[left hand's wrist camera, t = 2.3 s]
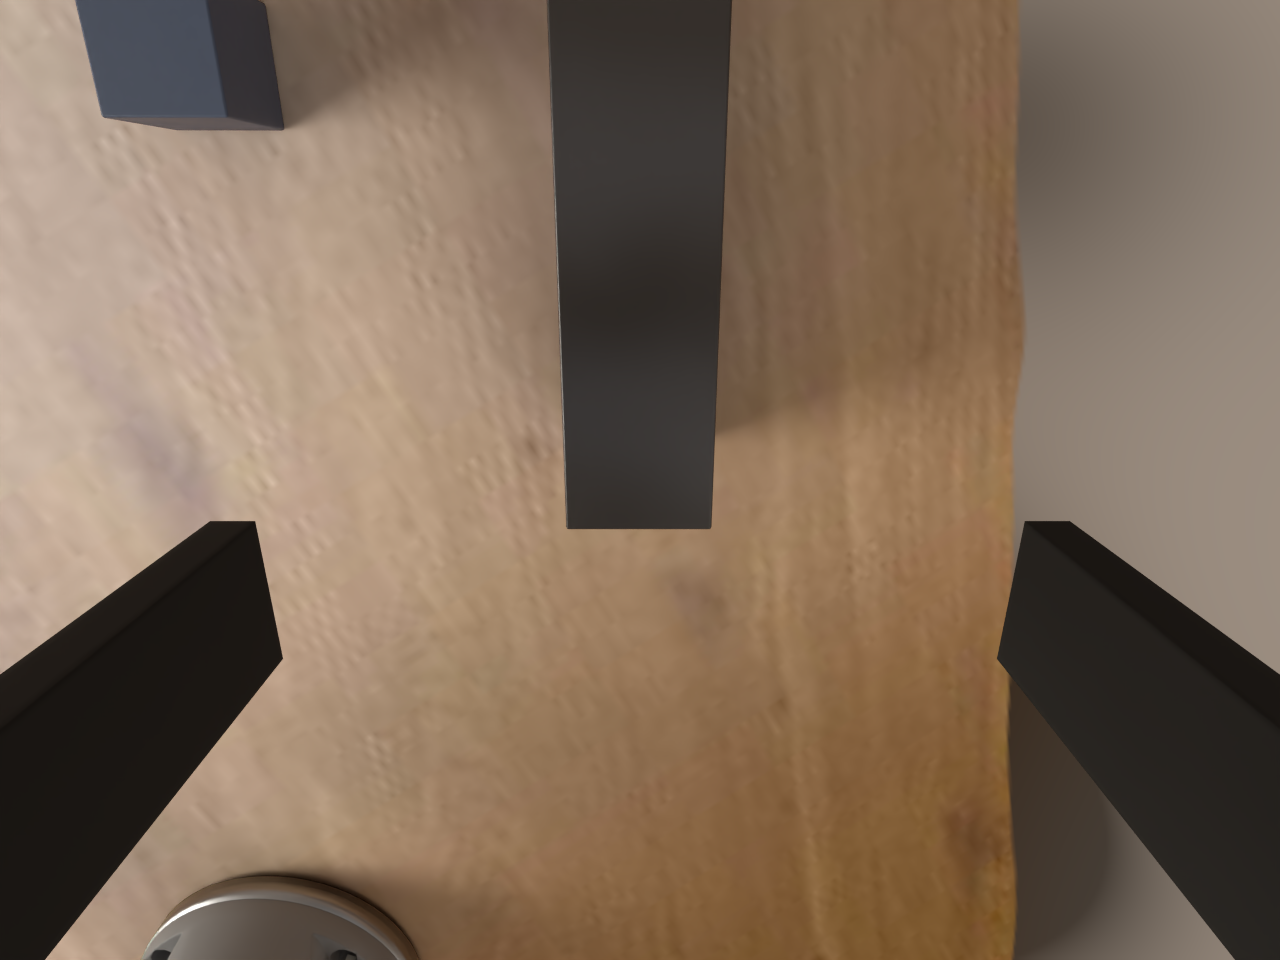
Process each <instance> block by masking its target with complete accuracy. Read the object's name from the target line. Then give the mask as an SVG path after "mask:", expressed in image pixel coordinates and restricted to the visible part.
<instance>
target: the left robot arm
mask: <svg viewBox="0 0 1280 960" xmlns="http://www.w3.org/2000/svg"><path fill="white" fill-rule="evenodd" d="M282 659H283V657H282V652H281V647H280V642H279V637H278V632H277V627H276V622H275V617H274V612H273V607H272V602H271V597H270V592H269V587H268V582H267V578H266V573H265V568H264V563H263V558H262V553H261V548H260V543H259V538H258V533H257V528H256V523H255V521H210V522H208V523H207V524H206V525H204V526H203V527H202V528H200V529H199V530H198V531H196V532H195V533H193V534H192V535H191V536H189V537H188V538H187V539H185V540H184V541H182V542H181V543H180V544H178V545H177V546H176V547H174V548H173V549H172V550H170V551H169V552H167V553H166V554H165V555H163V556H162V557H161V558H159V559H158V560H156V561H155V562H154V563H152V564H151V565H150V566H148V567H147V568H146V569H144V570H143V571H141V572H140V573H139V574H137V575H136V576H135V577H133V578H132V579H130V580H129V581H128V582H126V583H125V584H124V585H122V586H121V587H120V588H118V589H117V590H115V591H114V592H113V593H111V594H110V595H109V596H107V597H106V598H104V599H103V600H102V601H100V602H99V603H98V604H96V605H95V606H94V607H92V608H91V609H89V610H88V611H87V612H85V613H84V614H83V615H81V616H80V617H78V618H77V619H76V620H74V621H73V622H72V623H70V624H69V625H67V626H66V627H65V628H63V629H62V630H61V631H59V632H58V633H57V634H55V635H54V636H52V637H51V638H50V639H48V640H47V641H46V642H44V643H43V644H41V645H40V646H39V647H37V648H36V649H35V650H33V651H32V652H31V653H29V654H28V655H26V656H25V657H24V658H22V659H21V660H20V661H18V662H17V663H15V664H14V665H13V666H11V667H10V668H9V669H7V670H6V671H5V672H3V673H2V674H0V960H45V959H46V958H47V956H48V955H49V954H50V953H51V951H52V950H53V949H54V948H55V946H56V945H57V944H58V943H59V941H60V940H61V939H62V937H63V936H64V935H65V934H66V932H67V931H68V930H69V929H70V927H71V926H72V925H73V924H74V922H75V921H76V920H77V919H78V917H79V916H80V915H81V913H82V912H83V911H84V910H85V908H86V907H87V906H88V905H89V903H90V902H91V901H92V900H93V898H94V897H95V896H96V894H97V893H98V892H99V891H100V889H101V888H102V887H103V886H104V884H105V883H106V882H107V881H108V879H109V878H110V877H111V876H112V874H113V873H114V872H115V870H116V869H117V868H118V867H119V865H120V864H121V863H122V862H123V860H124V859H125V858H126V857H127V855H128V854H129V853H130V852H131V850H132V849H133V848H134V846H135V845H136V844H137V843H138V841H139V840H140V839H141V838H142V836H143V835H144V834H145V833H146V831H147V830H148V829H149V827H150V826H151V825H152V824H153V822H154V821H155V820H156V819H157V817H158V816H159V815H160V814H161V812H162V811H163V810H164V809H165V807H166V806H167V805H168V803H169V802H170V801H171V800H172V798H173V797H174V796H175V795H176V793H177V792H178V791H179V790H180V788H181V787H182V786H183V784H184V783H185V782H186V781H187V779H188V778H189V777H190V776H191V774H192V773H193V772H194V771H195V769H196V768H197V767H198V766H199V764H200V763H201V762H202V760H203V759H204V758H205V757H206V755H207V754H208V753H209V752H210V750H211V749H212V748H213V747H214V745H215V744H216V743H217V741H218V740H219V739H220V738H221V736H222V735H223V734H224V733H225V731H226V730H227V729H228V728H229V726H230V725H231V724H232V723H233V721H234V720H235V719H236V717H237V716H238V715H239V714H240V712H241V711H242V710H243V709H244V707H245V706H246V705H247V704H248V702H249V701H250V700H251V698H252V697H253V696H254V695H255V693H256V692H257V691H258V690H259V688H260V687H261V686H262V685H263V683H264V682H265V681H266V680H267V678H268V677H269V676H270V674H271V673H272V672H273V671H274V669H275V668H276V667H277V666H278V664H279V663H280V662H281V661H282ZM997 659H998V661H999V662H1000V663H1001V664H1002V666H1003V667H1004V668H1005V669H1006V671H1007V672H1008V673H1009V674H1010V676H1011V677H1012V678H1013V680H1014V681H1015V682H1016V683H1017V685H1018V686H1019V687H1020V688H1021V690H1022V691H1023V692H1024V693H1025V695H1026V696H1027V697H1028V698H1029V700H1030V701H1031V702H1032V704H1033V705H1034V706H1035V707H1036V709H1037V710H1038V711H1039V712H1040V714H1041V715H1042V716H1043V717H1044V719H1045V720H1046V721H1047V723H1048V724H1049V725H1050V726H1051V728H1052V729H1053V730H1054V731H1055V733H1056V734H1057V735H1058V736H1059V738H1060V739H1061V740H1062V741H1063V743H1064V744H1065V745H1066V746H1067V748H1068V749H1069V750H1070V752H1071V753H1072V754H1073V755H1074V757H1075V758H1076V759H1077V760H1078V762H1079V763H1080V764H1081V766H1082V767H1083V768H1084V769H1085V771H1086V772H1087V773H1088V774H1089V776H1090V777H1091V778H1092V779H1093V781H1094V782H1095V783H1096V784H1097V786H1098V787H1099V788H1100V789H1101V791H1102V792H1103V793H1104V795H1105V796H1106V797H1107V798H1108V800H1109V801H1110V802H1111V803H1112V805H1113V806H1114V807H1115V809H1116V810H1117V811H1118V812H1119V814H1120V815H1121V816H1122V817H1123V819H1124V820H1125V821H1126V822H1127V824H1128V825H1129V826H1130V827H1131V829H1132V830H1133V831H1134V833H1135V834H1136V835H1137V836H1138V837H1139V839H1140V840H1141V841H1142V843H1143V844H1144V845H1145V846H1146V848H1147V849H1148V850H1149V852H1150V853H1151V854H1152V855H1153V857H1154V858H1155V859H1156V860H1157V862H1158V863H1159V864H1160V865H1161V867H1162V868H1163V869H1164V870H1165V872H1166V873H1167V874H1168V876H1169V877H1170V878H1171V879H1172V881H1173V882H1174V883H1175V884H1176V886H1177V887H1178V888H1179V889H1180V891H1181V892H1182V893H1183V894H1184V896H1185V897H1186V898H1187V900H1188V901H1189V902H1190V903H1191V905H1192V906H1193V907H1194V908H1195V910H1196V911H1197V912H1198V913H1199V915H1200V916H1201V917H1202V919H1203V920H1204V921H1205V922H1206V924H1207V925H1208V926H1209V927H1210V929H1211V930H1212V931H1213V932H1214V934H1215V935H1216V936H1217V937H1218V939H1219V940H1220V941H1221V943H1222V944H1223V945H1224V946H1225V948H1226V949H1227V950H1228V951H1229V953H1230V954H1231V955H1232V956H1233V958H1234V959H1235V960H1280V674H1278V673H1277V672H1275V671H1274V670H1273V669H1271V668H1270V667H1269V666H1267V665H1266V664H1264V663H1263V662H1262V661H1260V660H1259V659H1258V658H1256V657H1255V656H1254V655H1252V654H1251V653H1249V652H1248V651H1247V650H1245V649H1244V648H1243V647H1241V646H1240V645H1238V644H1237V643H1236V642H1234V641H1233V640H1232V639H1230V638H1229V637H1228V636H1226V635H1225V634H1223V633H1222V632H1221V631H1219V630H1218V629H1217V628H1215V627H1214V626H1212V625H1211V624H1210V623H1208V622H1207V621H1206V620H1204V619H1203V618H1202V617H1200V616H1199V615H1197V614H1196V613H1195V612H1193V611H1192V610H1191V609H1189V608H1188V607H1186V606H1185V605H1184V604H1182V603H1181V602H1180V601H1178V600H1177V599H1176V598H1174V597H1173V596H1171V595H1170V594H1169V593H1167V592H1166V591H1165V590H1163V589H1162V588H1160V587H1159V586H1158V585H1156V584H1155V583H1154V582H1152V581H1151V580H1150V579H1148V578H1147V577H1145V576H1144V575H1143V574H1141V573H1140V572H1139V571H1137V570H1136V569H1134V568H1133V567H1132V566H1130V565H1129V564H1128V563H1126V562H1125V561H1124V560H1122V559H1121V558H1119V557H1118V556H1117V555H1115V554H1114V553H1113V552H1111V551H1110V550H1108V549H1107V548H1106V547H1104V546H1103V545H1102V544H1100V543H1099V542H1097V541H1096V540H1095V539H1093V538H1092V537H1091V536H1089V535H1088V534H1087V533H1085V532H1084V531H1082V530H1081V529H1080V528H1078V527H1077V526H1076V525H1074V524H1073V523H1072V522H1070V521H1025V523H1024V528H1023V533H1022V538H1021V543H1020V548H1019V553H1018V558H1017V563H1016V568H1015V573H1014V578H1013V582H1012V587H1011V592H1010V597H1009V602H1008V607H1007V612H1006V617H1005V622H1004V627H1003V632H1002V637H1001V642H1000V647H999V652H998V657H997ZM141 960H419V958H418V956H417V954H416V952H415V950H414V948H413V946H412V945H411V943H410V942H409V940H408V939H407V937H406V936H405V935H404V934H403V932H402V931H401V930H400V929H399V928H398V927H397V926H396V925H395V924H394V923H393V922H392V921H391V920H390V919H389V918H387V917H386V916H385V915H384V914H383V913H381V912H380V911H378V910H377V909H376V908H374V907H373V906H371V905H369V904H368V903H366V902H364V901H363V900H361V899H359V898H357V897H355V896H353V895H351V894H349V893H346V892H344V891H342V890H339V889H337V888H334V887H331V886H328V885H325V884H321V883H317V882H313V881H309V880H304V879H298V878H291V877H281V876H253V877H244V878H237V879H232V880H227V881H224V882H220V883H217V884H214V885H211V886H209V887H206V888H203V889H201V890H200V891H198V892H196V893H194V894H192V895H190V896H189V897H187V898H186V899H184V900H183V901H182V902H181V903H179V904H178V905H177V906H176V907H175V908H174V909H173V910H172V911H171V912H170V913H169V914H168V916H167V917H166V919H165V920H164V922H163V923H162V925H161V926H160V928H159V929H158V931H157V932H156V934H155V935H154V937H153V938H152V940H151V941H150V943H149V944H148V946H147V948H146V950H145V952H144V954H143V956H142V958H141Z"/></svg>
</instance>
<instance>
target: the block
mask: <svg viewBox="0 0 1280 960" xmlns="http://www.w3.org/2000/svg"><path fill="white" fill-rule="evenodd" d="M731 11H732V0H547V17H548V44H549V71H550V98H551V125H552V152H553V179H554V206H555V233H556V260H557V287H558V314H559V341H560V368H561V395H562V423H563V450H564V477H565V504H566V527H567V529H711V523H712V497H713V472H714V446H715V421H716V395H717V369H718V344H719V318H720V293H721V267H722V241H723V216H724V190H725V165H726V139H727V113H728V88H729V62H730V36H731Z"/></svg>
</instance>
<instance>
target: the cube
mask: <svg viewBox="0 0 1280 960" xmlns="http://www.w3.org/2000/svg"><path fill="white" fill-rule="evenodd" d="M75 1H76V6H77V10H78V14H79V19H80V23H81V27H82V32H83V36H84V40H85V45H86V49H87V53H88V58H89V62H90V66H91V71H92V75H93V79H94V84H95V88H96V92H97V97H98V101H99V105H100V110H101V114H102V116H103V117H105V118H109V119H115V120H121V121H127V122H133V123H139V124H144V125H150V126H156V127H162V128H168V129H174V130H284V125H283V118H282V112H281V105H280V98H279V92H278V85H277V79H276V72H275V66H274V59H273V53H272V46H271V40H270V33H269V27H268V20H267V14H266V7H265V4H264V3H262V2H260V1H258V0H75Z"/></svg>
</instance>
